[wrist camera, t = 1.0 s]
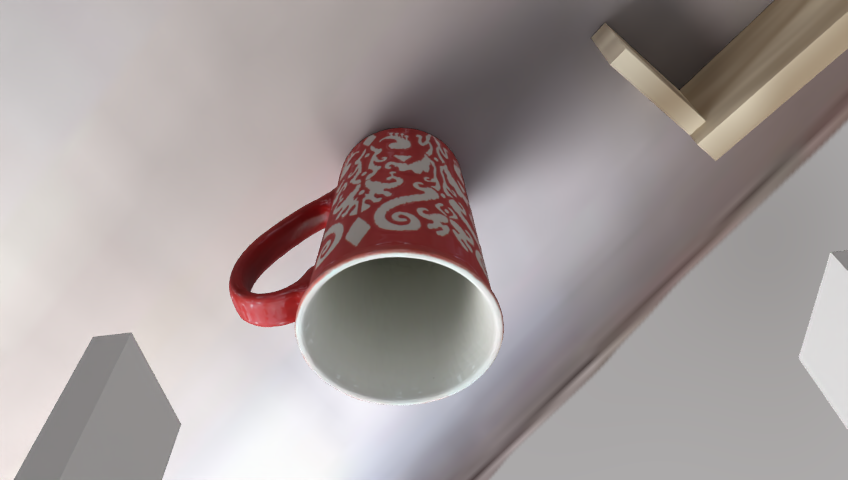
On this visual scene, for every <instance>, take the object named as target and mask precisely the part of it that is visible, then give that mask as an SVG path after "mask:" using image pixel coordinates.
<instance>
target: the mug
mask: <svg viewBox="0 0 848 480" xmlns="http://www.w3.org/2000/svg"><path fill="white" fill-rule="evenodd" d="M324 228H325V232H324V235H323V238H322V242H321V245H320V249H319V252H318V256H317V259H316V263H315V265H314V266H313V267H311V268H310V269H308V270H307V272H306V273H305V274H304V275H303V276H302V277H301V278H300V279H299V280H298V281H297V282H295V283H294V284H292V285H290V286H288V287H286V288H284V289H282V290H279V291H276V292H271V293H265V294H256V293H252V292H251V289H252V287H253V285H254V283H255V282H256V280H257V279H258V278H259V277H260V275H261V274H262V273H263V272H264V271H265V270H266V269H267V268H269V267H270V266H271V265H272V264H273V263H274V262H275V261H276V260H278V259H279V258H280V257H282V256H283V255H284V254H286V253H287V252H288V251H289V250H291V249H292V248H293V247H295V246H296V245H298V244H299V243H301V242H302V241H303V240H305V239H306V238H308V237H309V236H311V235H313V234H314V233H316V232H318V231H320V230H322V229H324ZM229 290H230V296H231V298H232V301H233V304H234V306H235V308H236V310H237V312H238V314H239V315H240V317H241V318H242V319H243V320H245V321H246V322H248V323H250V324H253V325H256V326H261V327H274V326H282V325H286V324H289V323H293V322H295V336H296V338H297V343H298V345H299V348H300V351H301V353H302V355H303V357H304V359H305V360H306V362H307V363H308V365H309V366H310V367H311V369H312V370H313V371H314V372H315V373H316V374H317V375H318V376H319V377H320V378H321V379H322V380H323V381H324V382H325V383H327V384H329V385H330V386H332V387H333V388H335V389H337V390H338V391H340V392H342V393H344V394H346V395H349V396H351V397H353V398H356V399H359V400H363V401H367V402H371V403H377V404H383V405H416V404H422V403H428V402H432V401H436V400H440V399H443V398H446V397H449V396H451V395H453V394H455V393H457V392H459V391H461V390H463V389H465V388H466V387H468V386H470V385H471V384H472V383H473V382H475V381H476V380H478V379H479V378H480V377H481V376H482V375H483V374H484V373H485V372H486V371H487V369H488V368H489V367H490V366H491V364H492V363H493V361H494V360H495V358H496V356H497V354H498V352H499V349H500V346H501V343H502V340H503V333H504V324H503V316H502V311H501V308H500V305H499V303H498V300H497V299H496V297H495V295H494V293H493V292H492V290H491V287H490V283H489V279H488V275H487V271H486V267H485V263H484V259H483V255H482V251H481V246H480V244H479V241H478V237H477V233H476V228H475V224H474V220H473V216H472V212H471V208H470V205H469V201H468V197H467V194H466V190H465V184H464V179H463V176H462V173H461V169H460V166H459V164H458V161H457V159H456V158H455V156H454V154H453V153H452V151H451V150H450V149H449V148H448V147H447V146H446V145H445V144H444V143H443V142H442V141H441V140H439V139H437V138H436V137H434V136H432V135H430V134H428V133H426V132H423V131H420V130H416V129H409V128H393V129H387V130H383V131H380V132H377V133H374V134H372V135H371V136H369V137H367V138H365V139H363V140H362V141H361V142H360V143H358V144H357V145H356V146H355V147H354V148H353V149H352V151H351V152H350V153H349V155H348V156H347V158H346V160H345V162H344V164H343V167H342V170H341V173H340V177H339V181H338V186H337V187H336V188H335V189H333V190H332V191H331V192H329V193H327V194H325V195H324V196H322V197H321V198H319V199H317V200H315V201H313V202H311V203H309V204H307V205H305V206H304V207H302V208H300V209H299V210H297V211H295V212H294V213H292V214H291V215H289V216H288V217H286V218H285V219H283V220H282V221H280V222H279V223H277V224H276V225H274V226H273V227H272V228H270V229H269V230H268V231H266V232H265V233H264V234H262V235H261V236H260V237H258V238H257V239H256V240H255V241H254V242H253V243H252V244H251V245H250V246H249V247H248V248H247V249H246V250H245V251H244V252H243V253H242V255H241V256H240V258H239V259H238V260H237V262H236V264H235V266H234V268H233V270H232V272H231V276H230V281H229Z"/></svg>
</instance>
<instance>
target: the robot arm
mask: <svg viewBox="0 0 848 480" xmlns="http://www.w3.org/2000/svg"><path fill="white" fill-rule="evenodd" d="M799 359H800V361H801V362H802V364H803V365H804V367H805V368H806V370H807V371H808V373H809V374H810V375H811V377H812V378H813V380H814V381H815V383H816V384H817V386H818V387H819V389H820V390H821V391H822V393H823V394H824V396H825V397H826V399H827V400H828V402H829V403H830V404H831V406H832V407H833V409H834V410H835V412H836V413H837V415H838V416H839V418H840V419H841V421H842V422H843V424H844V425H845V426H846V428H847V429H848V250H844V251H836V252H830V256H829V259H828V262H827V265H826V269H825V272H824V276H823V279H822V282H821V285H820V289H819V292H818V295H817V299H816V302H815V305H814V308H813V312H812V315H811V318H810V322H809V325H808V328H807V332H806V335H805V338H804V342H803V345H802V349H801V351H800V355H799ZM180 426H181V423H180V421H179V419H178V418H177V416H176V414H175V412H174V410H173V408H172V407H171V405H170V403H169V401H168V399H167V397H166V395H165V394H164V392H163V390H162V388H161V386H160V384H159V383H158V381H157V379H156V377H155V375H154V373H153V371H152V370H151V368H150V366H149V364H148V362H147V360H146V358H145V357H144V355H143V353H142V351H141V349H140V347H139V346H138V344H137V342H136V340H135V338H134V336H133V334H132V333H123V334H115V335H106V336H97V337H93V338H92V340H91V342H90V343H89V345H88V347H87V349H86V351H85V352H84V354H83V356H82V358H81V360H80V361H79V363H78V365H77V367H76V369H75V370H74V372H73V374H72V376H71V378H70V379H69V381H68V383H67V385H66V387H65V388H64V390H63V392H62V394H61V396H60V397H59V399H58V401H57V403H56V405H55V406H54V408H53V410H52V412H51V414H50V415H49V417H48V419H47V421H46V423H45V424H44V426H43V428H42V430H41V432H40V433H39V435H38V437H37V439H36V441H35V442H34V444H33V446H32V448H31V450H30V451H29V453H28V455H27V457H26V459H25V460H24V462H23V464H22V466H21V468H20V469H19V471H18V473H17V475H16V477H15V478H14V480H162V478H163V475H164V472H165V469H166V466H167V464H168V461H169V458H170V455H171V452H172V449H173V446H174V443H175V440H176V437H177V434H178V432H179V429H180Z"/></svg>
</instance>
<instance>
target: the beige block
mask: <svg viewBox="0 0 848 480" xmlns="http://www.w3.org/2000/svg"><path fill="white" fill-rule="evenodd" d="M591 39H592V40H593V42H594V43H595V44H596V46H597V47H598V49H599V50H600V51H601V53H602V54H603V56H604V57H605V59H606V60H607V61H608V63H609V64H610V65H611V66H612V67H613V68H614V69H615V70H616V71H618V72H619V73H620V74H621V75H622V76H623V77H624V78H625V79H627V80H628V81H629V82H630V83H631V84H632V85H633V86H635V87H636V88H637V89H638V90H639V91H640V92H641V93H642V94H644V95H645V96H646V97H647V98H648V99H649V100H650V101H652V102H653V103H654V104H655V105H656V106H657V107H658V108H660V109H661V110H662V111H663V112H664V113H665V114H666V115H667V116H669V117H670V118H671V119H672V120H673V121H674V122H675V123H677V124H678V125H679V126H680V127H681V128H682V129H683V130H684V131H686V132H687V133H688V134H689V135H690V136H691V137H692V139H693V140H694V141H695V142H696V144H697V145H698V146H700V147H701V148H702V149H703V150H704V151H705V152H706V153H708V154H709V155H710V156H711V157H712V158H713V159H714V160H715V161H716V160H718V159H719V158H720V157H721V156H722V155H723V154H725V153H726V152H727V151H728V150H729V149H730V148H732V147H733V146H734V145H735V144H736V143H737V142H739V141H740V140H741V139H742V138H743V137H745V136H746V135H747V134H748V133H749V132H750V131H752V130H753V129H754V128H755V127H756V126H757V125H759V124H760V123H761V122H762V121H763V120H764V119H766V118H767V117H768V116H769V115H770V114H771V113H773V112H774V111H775V110H776V109H777V108H778V107H780V106H781V105H782V104H783V103H784V102H785V101H787V100H788V99H789V98H790V97H791V96H793V95H794V94H795V93H796V92H797V91H798V90H800V89H801V88H802V87H803V86H804V85H805V84H807V83H808V82H809V81H810V80H811V79H812V78H814V77H815V76H816V75H817V74H818V73H819V72H821V71H822V70H823V69H824V68H825V67H826V66H828V65H829V64H830V63H831V62H832V61H833V60H835V59H836V58H837V57H838V56H839V55H841V54H842V53H843V52H844V51H845V50H846V49H848V0H775V1H774V2H772V3H771V4H770V5H769V6H768V7H767V8H766V9H765V10H764V11H763V12H762V13H761V14H760V15H759V16H758V17H757V18H756V19H754V20H753V21H752V22H751V23H750V24H749V25H748V26H747V27H746V28H745V29H744V30H743V31H742V32H741V33H740V34H739V35H737V36H736V37H735V38H734V39H733V40H732V41H731V42H730V43H729V44H728V45H727V46H726V47H725V48H724V49H723V50H722V51H721V52H719V53H718V54H717V55H716V56H715V57H714V58H713V59H712V60H711V61H710V62H709V63H708V64H707V65H706V66H705V67H704V68H702V69H701V70H700V71H699V72H698V73H697V74H696V75H695V76H694V77H693V78H692V79H691V80H690V81H689V82H688V83H687V84H686V85H684V86H683V87H682V88H681V89H680V90H678V89H677V88H676V87H675V86H674V85H673V84H672V83H671V82H670V81H668V80H667V79H666V78H665V77H664V76H663V75H662V74H661V73H660V72H659V71H657V70H656V69H655V68H654V67H653V66H652V65H651V64H650V63H649V62H648V61H647V60H645V59H644V58H643V57H642V56H641V55H640V54H639V53H638V52H637V51H636V50H634V49H633V48H632V47H631V46H630V45H629V44H628V43H627V42H626V41H625V40H624V39H622V38H621V37H620V36H619V35H618V34H617V33H616V32H615V31H614V30H613V29H611V28H610V27H609V26H608V25H607V24H606V23H604V24H603V25H602V27H601V28H600V29H599V30H598V31H597V32H596V33H595V34H594V35H593V36H592V37H591Z"/></svg>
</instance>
